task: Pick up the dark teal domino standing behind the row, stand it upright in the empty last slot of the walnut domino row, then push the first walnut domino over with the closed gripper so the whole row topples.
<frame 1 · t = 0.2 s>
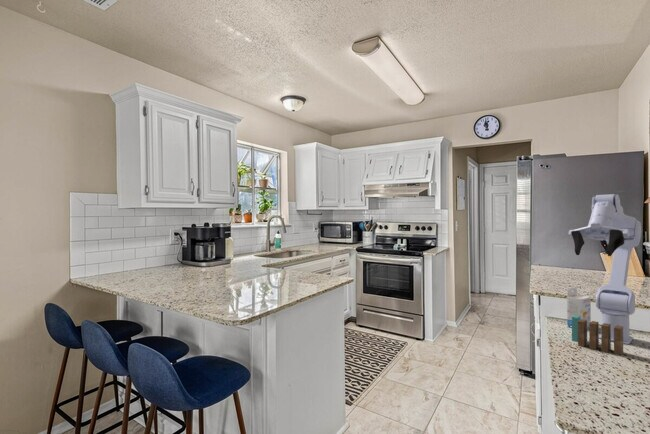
hand: (592, 253, 100), 31 cm above the counter, tool tilted 45°, fingers open, 7 cm apart
domino 4: (582, 345, 111), on the counter
domino 3: (594, 347, 108), on the counter
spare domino: (576, 340, 116), on the counter
domino 2: (606, 350, 106), on the counter
domino 1: (618, 353, 104), on the counter
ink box: (579, 327, 131), on the counter
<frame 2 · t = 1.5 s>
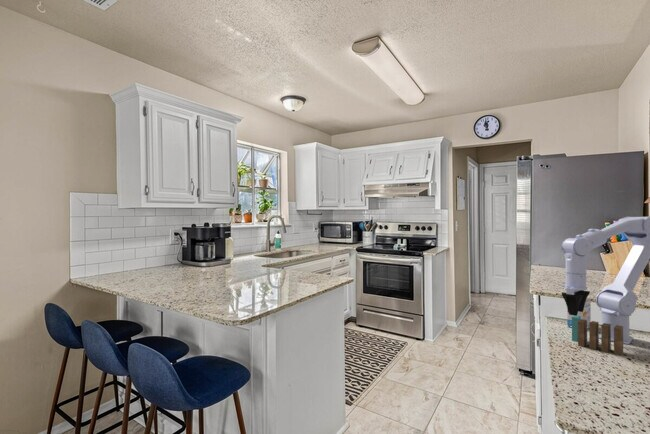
hand: (576, 313, 116), 9 cm above the counter, tool pointing down, fingers open, 7 cm apart
nothing on the counter moved.
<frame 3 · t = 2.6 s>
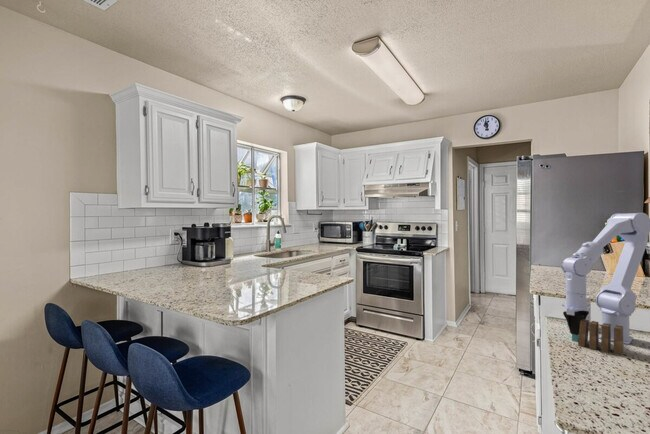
hand: (576, 332, 116), 2 cm above the counter, tool pointing down, fingers closed on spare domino, 4 cm apart
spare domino: (576, 340, 116), on the counter, touching gripper
everything else where it was.
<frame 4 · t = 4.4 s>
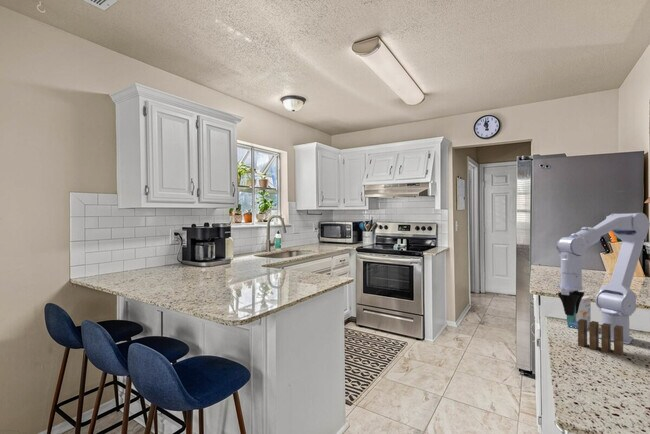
hand: (571, 314, 113), 9 cm above the counter, tool pointing down, fingers closed on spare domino, 4 cm apart
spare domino: (571, 321, 113), point 7 cm above the counter, touching gripper
everything else where it was.
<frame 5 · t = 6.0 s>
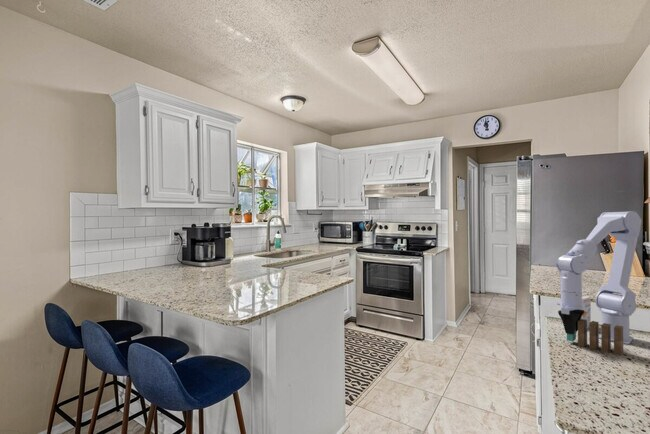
hand: (571, 332, 113), 3 cm above the counter, tool pointing down, fingers closed on domino 4, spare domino, 4 cm apart
domino 4: (582, 345, 111), on the counter, touching gripper
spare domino: (571, 339, 113), point 1 cm above the counter, touching gripper
everything else where it was.
when the fingers open (3 cm above the counter, at t = 6.3 s): domino 4 stays where it is, on the counter; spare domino drops 1 cm, on the counter.
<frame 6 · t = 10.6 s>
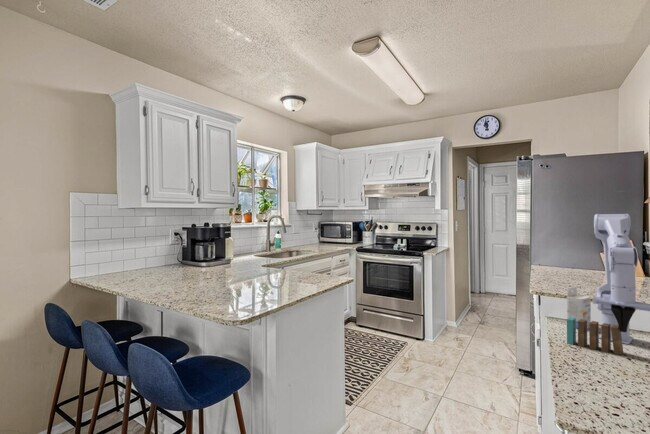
hand: (623, 331, 103), 7 cm above the counter, tool pointing down, fingers closed
domino 4: (582, 345, 111), on the counter
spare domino: (571, 342, 113), on the counter
everything else where it was.
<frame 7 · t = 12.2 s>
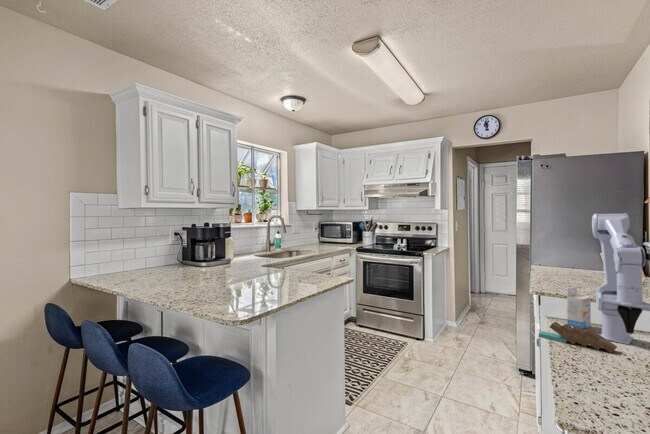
hand: (630, 332, 102), 7 cm above the counter, tool pointing down, fingers closed
domino 4: (576, 341, 112), point 1 cm above the counter, tilted 59°, touching domino 3
domino 3: (588, 344, 109), point 1 cm above the counter, tilted 59°, touching domino 2, domino 4
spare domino: (567, 340, 114), on the counter, tilted 90°
domino 2: (601, 347, 107), point 1 cm above the counter, tilted 59°, touching domino 1, domino 3
domino 1: (614, 349, 104), point 1 cm above the counter, tilted 60°, touching domino 2
everything else where it was.
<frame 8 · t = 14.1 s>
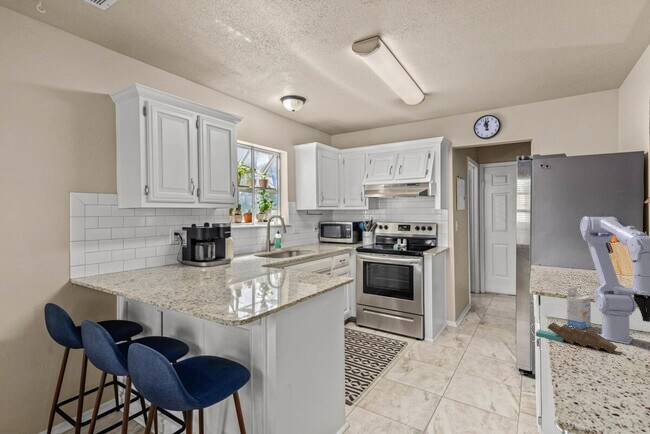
hand: (646, 321, 102), 10 cm above the counter, tool pointing down, fingers closed
domino 4: (575, 341, 112), point 1 cm above the counter, tilted 63°, touching domino 3, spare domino
domino 3: (587, 344, 109), point 1 cm above the counter, tilted 61°, touching domino 2, domino 4
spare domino: (564, 338, 115), point 1 cm above the counter, tilted 91°, touching domino 4
everything else where it was.
at the end: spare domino tilted 91°; domino 1 tilted 61°; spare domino inside the target area (1.5 cm from its centre), point 0.6 cm above the counter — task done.
